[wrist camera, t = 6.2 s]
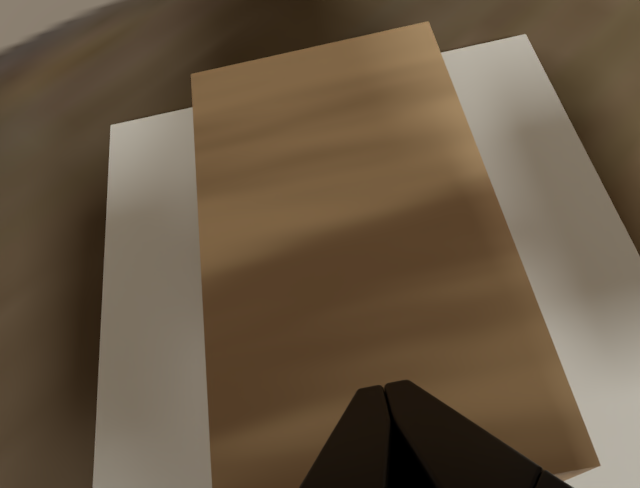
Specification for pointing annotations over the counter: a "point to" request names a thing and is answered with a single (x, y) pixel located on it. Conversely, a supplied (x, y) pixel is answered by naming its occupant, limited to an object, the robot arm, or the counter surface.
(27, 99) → the counter surface
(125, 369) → the grey mat
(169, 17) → the counter surface
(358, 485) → the robot arm
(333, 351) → the oak block
